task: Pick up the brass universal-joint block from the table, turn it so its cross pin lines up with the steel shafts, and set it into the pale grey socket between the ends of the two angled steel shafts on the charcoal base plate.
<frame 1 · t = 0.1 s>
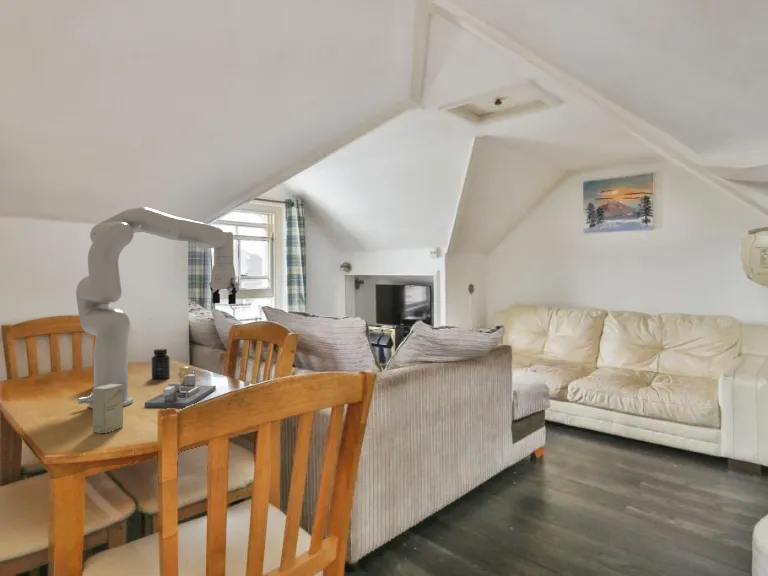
hand: (224, 303, 192), 31 cm above the table, tool pointing down, fingers open, 9 cm apart
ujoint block: (185, 385, 183), on the table
supplement bottle: (160, 378, 195), on the table
shaft bench: (182, 397, 164), on the table
skincare box: (108, 430, 129), on the table
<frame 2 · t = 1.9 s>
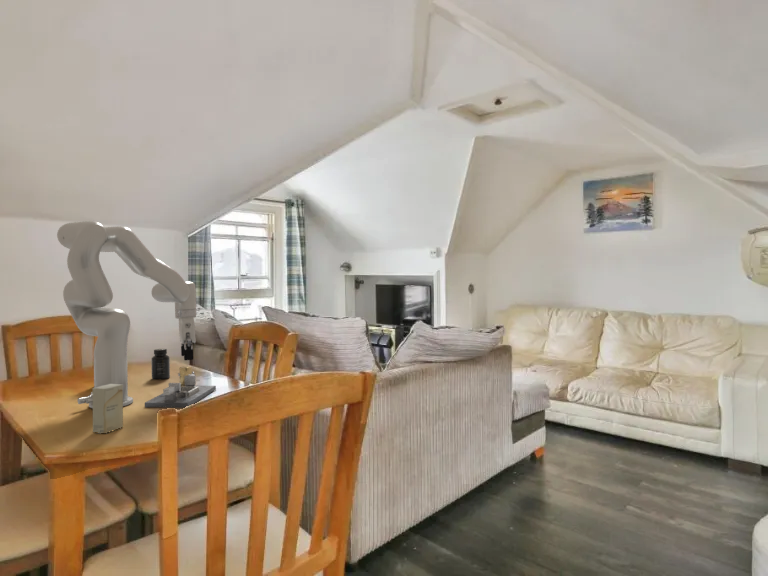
hand: (187, 357, 183), 11 cm above the table, tool pointing down, fingers open, 9 cm apart
nothing on the table moved.
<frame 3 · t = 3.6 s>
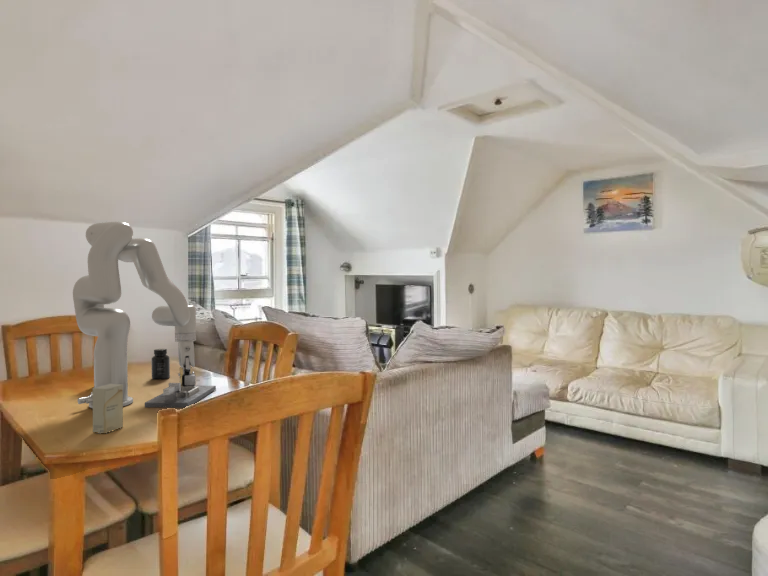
hand: (185, 383, 183), 1 cm above the table, tool pointing down, fingers closed on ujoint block, 4 cm apart
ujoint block: (185, 385, 183), on the table, touching gripper
everything else where it was.
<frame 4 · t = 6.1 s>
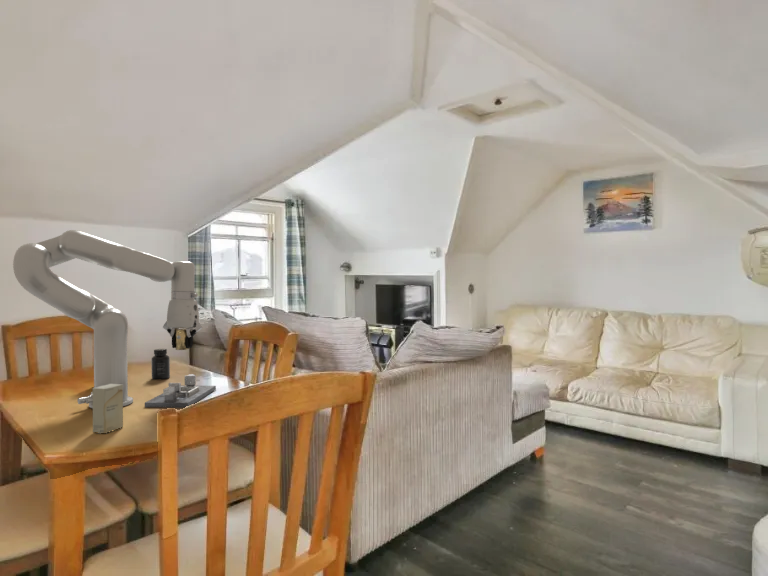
hand: (182, 347, 167), 17 cm above the table, tool pointing down, fingers closed on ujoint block, 4 cm apart
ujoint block: (182, 349, 167), point 16 cm above the table, touching gripper
everything else where it was.
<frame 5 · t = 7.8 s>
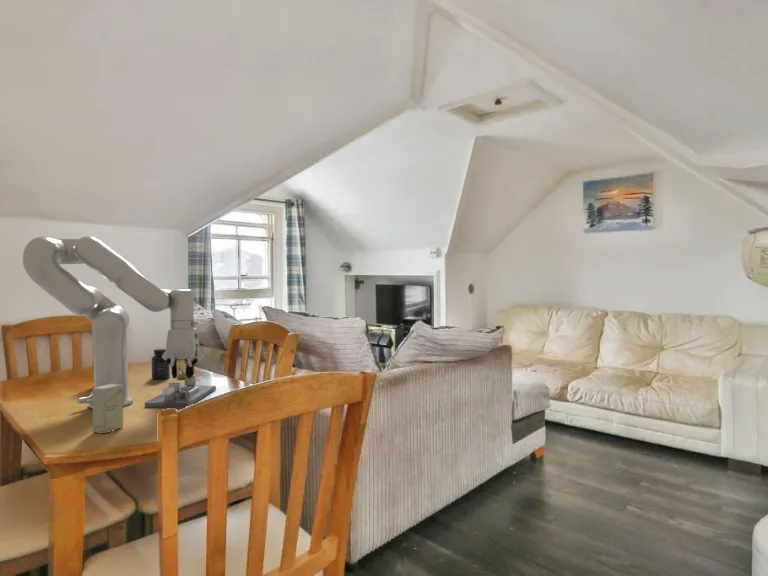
hand: (182, 376, 164), 7 cm above the table, tool pointing down, fingers closed on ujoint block, 4 cm apart
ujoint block: (183, 378, 164), point 7 cm above the table, touching gripper
everything else where it was.
when the fingers open (3 cm above the table, at t = 9.0 s): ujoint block stays where it is, resting on shaft bench.
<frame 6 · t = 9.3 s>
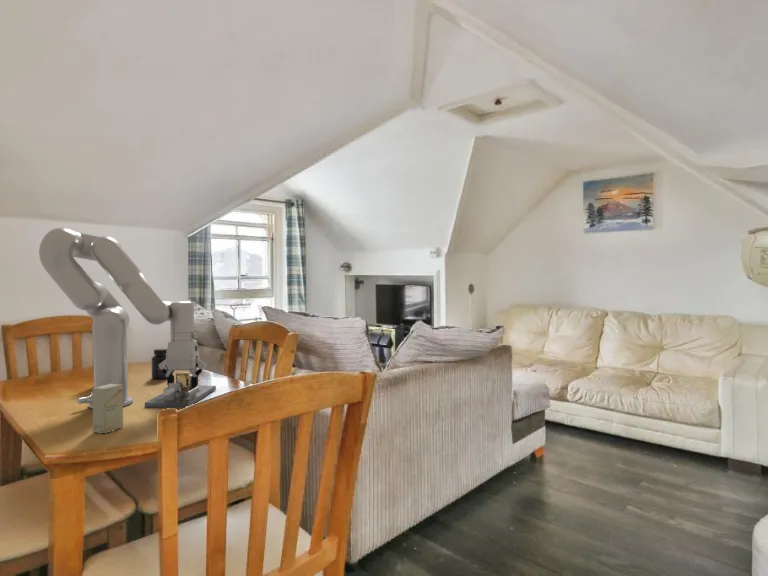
hand: (182, 387, 164), 4 cm above the table, tool pointing down, fingers open, 7 cm apart
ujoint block: (182, 393, 164), point 2 cm above the table, touching shaft bench
everything else where it was.
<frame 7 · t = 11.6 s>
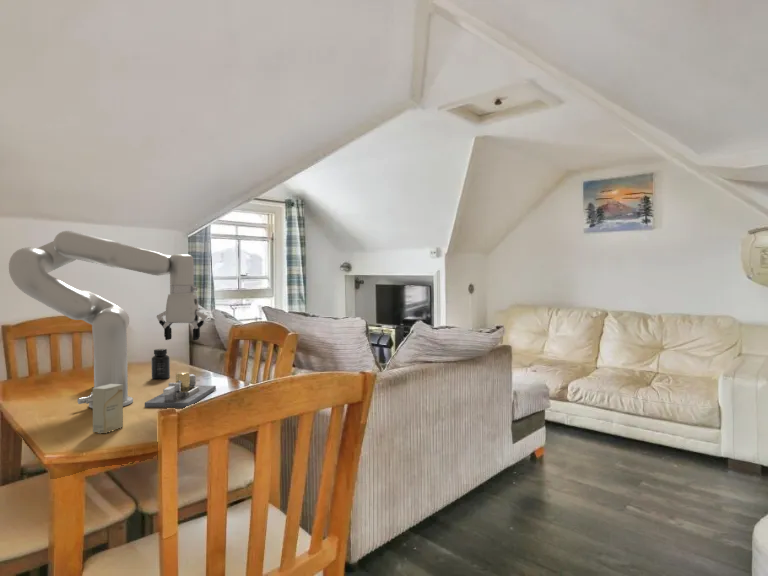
hand: (182, 339, 163), 20 cm above the table, tool pointing down, fingers open, 9 cm apart
nothing on the table moved.
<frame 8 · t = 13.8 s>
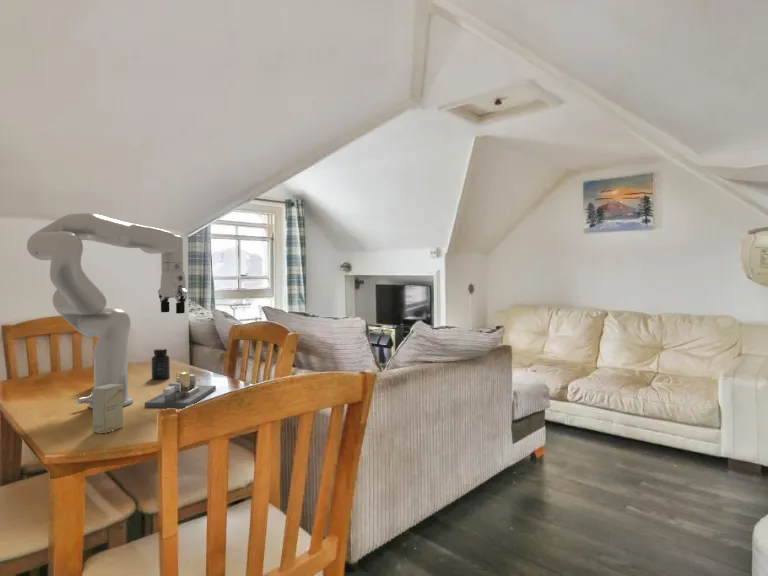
hand: (172, 312, 180), 28 cm above the table, tool pointing down, fingers open, 9 cm apart
nothing on the table moved.
at the end: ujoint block 0.1 cm off-centre on the shaft bench, point 1.6 cm above the shaft bench's base; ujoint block tilted 1°; the gripper is holding nothing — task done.
